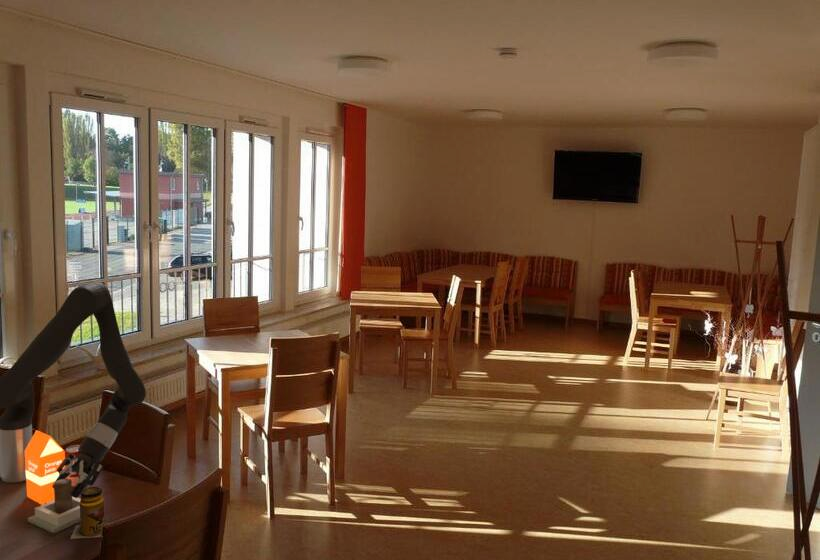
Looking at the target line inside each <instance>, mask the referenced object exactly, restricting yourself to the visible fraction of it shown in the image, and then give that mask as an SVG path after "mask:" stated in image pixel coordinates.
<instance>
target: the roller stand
mask: <svg viewBox="0 0 820 560" xmlns="http://www.w3.org/2000/svg"><path fill="white" fill-rule="evenodd" d="M80 501H81V497H79V496H78V497H77V498H75V497H73V496H72V502H73V509H71V510H68V511H66V512H63V513H61V514H57V513H55V500H53V501H51V502H48V503H46V504H43V505H41V504H40V505H39V506H36V507H34V515H32V516H29V517H28V518H27V522H28V523H30V524H33V525H34V524H35V525H34V526H37V527H39V528H41V529H43V530H46V531H48V532H50V533H53V534H55V533H58V532H60V531H62V530H64V529H66V528H69V527H71V526H74V525H75V523H76V524H77V523H80Z"/></svg>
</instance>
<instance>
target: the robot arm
mask: <svg viewBox="0 0 820 560" xmlns="http://www.w3.org/2000/svg"><path fill="white" fill-rule="evenodd" d="M92 315H93V316H94V318H95V320H96V322H97V326H98V331H99V346H100V347H99V349H100V350H99V351H100V354H101V358H102V361H103V363H104V366H105V368H106V370H107V374H108V375H109V377H110V378H111V379H113V380H114V381H115V382H116V384H117V386H118V387H117V388H116V389H115V391H114V392H113V394H111V397H110V400H109V402H108V404H107V406H106V409H105V410H104V412H103V413H102V414H101V415H100V417H99V419H98V420H97V421H96V423H95V424H94V425H93V426H92V428H91V429H90V430H89V432H88V434H87V435H86V436H85V438H83V440H82V442H81V444H79V445H80V446H79V448H78V451H79V453H78V454H77V455H76V456H74V455H73V454H71V453H69V454H68V455H67V456H66V458H65V459H64V461H63V462H62V463H61V465H60V466H59V467H58V469H57V471H58V472H59V476H58V478H57V479H56V481H57V480H61V479H66V478H67V477H69V476H70V475H74V474H76V473H77V474H79V476H80V480H79V483H77V485H76V486H75V488H72V492H71V494H70V495H71V496H73V497H75V498H77V497H78V498H79V497H80V496H81V492H82V490H84V489H86V488H85V487H87V486H88V487H93V485H95V483H96V481H97V479H98V477H100V474H101V473H102V471H103V469H104V466H103V465H101V464H100V462H102V461H103V460H104V458H105V457H106V455H107V453H108V452H109V450H110V449H111V448H112V446H113V444H114V442H115V441H116V439H117V437H118V435H119V433H120V432H121V431H122V429H123V427H124V426H125V424H126V423H127V420H128V416H127V415H128V413H129V411H130V409H131V407H132V406H134V407H135V406H138V405H141V404H142V403H143V402H144V401H145V399H146V396H147V390H146V388H145V384H144V382H143V380H142V379H141V377H140V376H139V374H138V373H137V371H136V370H135V369H134V367H133V365H132V361H131V359H130V357H129V353H128V352H127V349H126V347H125V344H124V341H123V338H122V336H121V333H120V327H119V325H118V320H117V316H116V312H115V308H114V303H113V298H112V295H111V291H110V290H109V288H108V287H107V286H106V285H105V284H104V283H102V282H100V281H91V282H88V283H85V284H82V285H80V286H79V285H78V286H77V287H75V288H74V289H73V290H71V292H70V293H69V294H68V295H67V297H66V299H65V300H64V302H63V303H62V305H61V306H60V308H59V309H58V311H57V313H56V314H55V315H54V317H52V318H51V320H49V322H48V323H47V324H46V325H45V326H44V327H43V328H42V329H41V331H40V332H39V333H38V334H37V335H35V337H34V339H32V341H31V342H30V344H29V345H28V347H27V348H26V349H25V350H24V351H23V352H22V354H21V355H20V356H19V357H18V358H17V360H16V361H15V363H14V364H13V365H12V366H11V367H10V368H9V369H8V370H7V371H6V372H5V373H4V374H3V375H2V376H0V409H4V410H5V411H4V412H3V414H1V416H0V477H1V481H2V482H4V483H19V482H24V481H25V482H26V467H25V452H24V451H25V449H26V447H27V446H28V444H29V442H30V440H31V439H32V437H33V423H32V422H33V417H34V413H35V390H34V389H35V388H34V384H33V380H34V379H36V378H38V377H39V376H40V375H41V374H43V373H45V371H47V370H49V369H50V368H51V367H52V366H53V365H54V364H56V362H58V361H59V360H60V358H62V356H63V354H65V352H66V351H67V350H68V348H69V347H70V345H71V343H72V339H73V336H74V333H75V332H76V330H77V329H78V328H79V327H80V326H81V325H82V324H83V323H84V322H85V321H86V320H87V319H88V318H90V317H91V316H92ZM65 465H66V467H65V468H64V469H62V468H63V467H64V466H65ZM71 467H72V468H71ZM66 472H68V473H66ZM52 488H54V484H53V486H52Z"/></svg>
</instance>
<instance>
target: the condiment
mask: <svg viewBox="0 0 820 560" xmlns="http://www.w3.org/2000/svg"><path fill="white" fill-rule="evenodd" d="M80 499H81V501H80V522H79V523H80V524H77V525H75V526H74V528H73V531H72V534H71V535H70V537H69V539H70V540H73V539H74V540H75V539H89V538H100V537H101V527H102V526H104V525H105V499H104V497H103V491H102V488H101V487H98V486H88V487H86V488H84V489H83V490H82V492H81V494H80ZM107 523H108V522H107ZM107 523H106V524H107ZM101 538H102V537H101Z"/></svg>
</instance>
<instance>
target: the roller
mask: <svg viewBox="0 0 820 560" xmlns="http://www.w3.org/2000/svg"><path fill="white" fill-rule="evenodd" d="M72 491H73V488H72V481H71V480H70V479H61V480H57V481H55V482H54V498H55V513H57V514H61V513H63V512H66V511H68V510H71V509H73V502H72V496H71V495H70V494H71V492H72Z"/></svg>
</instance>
